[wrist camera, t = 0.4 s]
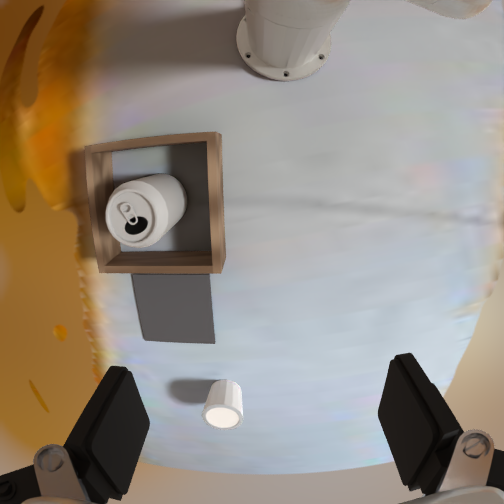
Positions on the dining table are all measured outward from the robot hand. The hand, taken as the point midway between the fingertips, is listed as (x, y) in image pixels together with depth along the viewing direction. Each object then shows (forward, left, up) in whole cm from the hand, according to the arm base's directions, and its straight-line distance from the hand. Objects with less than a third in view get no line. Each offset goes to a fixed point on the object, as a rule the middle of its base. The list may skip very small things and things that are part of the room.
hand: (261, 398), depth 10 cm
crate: (-2, -13, -34) cm, 36 cm away
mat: (+15, -13, -34) cm, 39 cm away
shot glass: (+32, -6, -34) cm, 47 cm away
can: (-2, -13, -34) cm, 37 cm away
